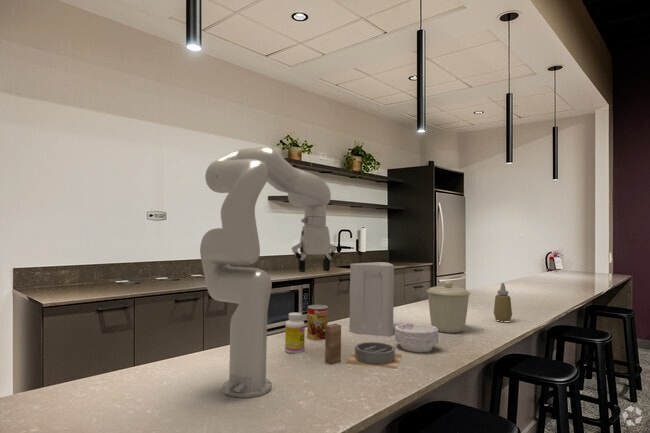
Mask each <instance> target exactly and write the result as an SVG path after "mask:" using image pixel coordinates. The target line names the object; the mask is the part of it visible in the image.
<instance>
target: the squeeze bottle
mask: <svg viewBox="0 0 650 433" xmlns="http://www.w3.org/2000/svg"><path fill="white" fill-rule="evenodd" d="M500 284H501V285H500V288H499V290H497V295H495V296H494V297H495V298H494V308H493V315H494V318H495V321H496V320H499V321H510V322H511V319H512V316H513V310H512V302H511V300H512V299H511V296H510V295H509V290H506V286H505V282H501V283H500Z"/></svg>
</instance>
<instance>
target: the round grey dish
mask: <svg viewBox="0 0 650 433" xmlns="http://www.w3.org/2000/svg"><path fill="white" fill-rule="evenodd" d="M372 346H377V351H378V350H382V349H387V352H379V353H376V352H367V351H363V349H365V348H368V347H372ZM354 351H355V357H356V360H358V361H360V362H363V363H367V364H375V365H382V364H389V363H392V362H394V360H395V353H396V347H394V346H393V345H392V344H387V343H384V342H376V341H371V342H370V341H369V342H366V341H365V342H362V343H361V342H360V343H357V344H356V345H355V346H354Z"/></svg>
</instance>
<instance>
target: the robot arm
mask: <svg viewBox="0 0 650 433" xmlns="http://www.w3.org/2000/svg"><path fill="white" fill-rule="evenodd" d="M204 177H205V182H206V185H207V187H208V188H209V189H210V190H211V191H213V192H215V193H217V194H218V193H219V194H227V195H226V196H225V199H224V201H223V203H222V205H221V209H220V219H221V220H220V221H221V227H222V228H221V227H220V228H219V227H217V228H211V229H210V230H208V231H206V232H205V233H204V235H203V237H202V239H201V241H200V246H199V252H200V253H199V255H200V260H201V265H202V271H203V276H204V279H205V285H206V289H207V292H208V295H209V296H210V298H212V299H213V300H215V301H218V302H223V303H224V302H225V303H230V304H231V303H232V304H237V307H236V309H235V311H234V312H233V313H232V316H231V318H230V323H229V324H230V326H229V332H230V334H229V367H228V369H229V372H228V373H229V374H228V375H229V376H228V380H227V381H225V382H224V384H223V385H222V389H221V390H222V393H223V394H225V395H227V396H230V397H234V398H242V399H243V398H254V397H255V398H256V397H260V396H264V395H265V394H267V393H269V392H270V391H271V390H272V388H273V385H272V384H273V383H272V381H271V380H270V379H268V378H267V346H268V345H267V342H268V339H267V338H268V310H269V302H270V297H271V293H272V292H271V291H272V288H273V287H272V277H270V275H269V274H268V272H266V271H265V270H263V269H260V268H256V267H247V266H249V265H253V264H255V263H257V261H258V260H259V258H260V254H261V251H260V250H261V247H260V239H259V234H258V227H257V219H256V204H257V201H258V198H259V197H260V194H261V192H262V190H263V189H264V187H265V186H266V184H268V185H270V186H272V188H274V189H276V190H277V191H279V192H281V193H282V192H283V193H287V200H288V202H289V203H290V204H291V205H292V206H294V207H298V208H301V207H302V208H304V217H303V218H301V220H300V221H301V223H303V224H304V225H303V226H302V227H301V234H300V241H299V242H298V243H297V244H295V245H294V246H292V247H291V250H292V253H293V255H294V257H295V259H297V260H298V264H297V265H298V271H299V272H301V273H305V271H306V260H304V259H306V257H307V256H310V255H311V256H317V255H318V256H322V257H323V258H324V259H323V261H322V264H323V265H322V270H323V271H324V272H330V269H331V260H332V258H333V256H334V255H335V253H336V251H337V246H335V245H333V244H332V243H331V236H330V230H329V226H327V206H328V204H329V203H330V201H331V197H332V195H331V189H330V187H329V186H328V184H327V183H326V182H325V181H324V180H323V178H321V177H320V176H318V175H316V174H313V173H311V172H308V171H306V170H303V169H300V168H297V167H294V166H293V165H292V164H290V163H289V162H288V161H287V160H286V159H285V158H284V157H283V156H282V155H281V154H279V152H277V151H276V150H275V149H273V148H271V147H268V146H267V147H266V146H265V147H250V148H241V149H238V150H235V151H233V152H231V153H229V154H227V155H225V156H222V157H220V158H218V159H216V160H215V161H212V162H211V163H210V164H209V166H207V169H206V171H205V176H204ZM298 249H299V251H300V252H299V251H298ZM243 266H244V267H243Z"/></svg>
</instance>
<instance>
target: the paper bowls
mask: <svg viewBox="0 0 650 433" xmlns="http://www.w3.org/2000/svg"><path fill="white" fill-rule="evenodd" d="M439 332H440V331H438V328H436V327H434V326H432V324H431V325H430V324H423V323H401V324H397V325H395V326H394V341H395V342H397V343H398V344H399V345H400V348H401V349H403V350H405V351H408V352H413V353H426V352H431V351H432V349H433V348H434V346H435V345H438V344H439Z"/></svg>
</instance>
